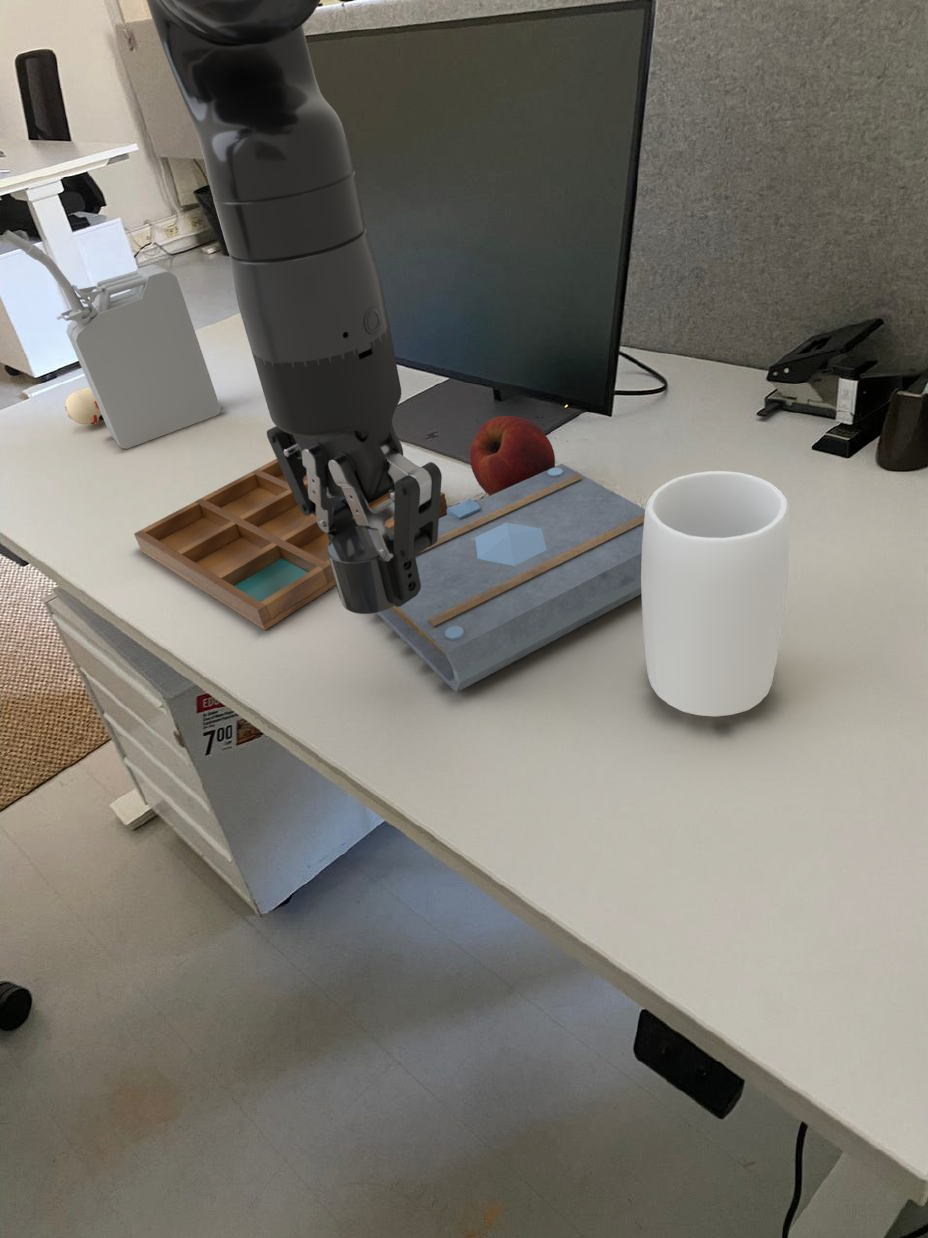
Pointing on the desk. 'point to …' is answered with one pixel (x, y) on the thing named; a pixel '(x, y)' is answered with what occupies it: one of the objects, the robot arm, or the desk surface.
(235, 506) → the board
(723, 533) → the cup
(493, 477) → the apple
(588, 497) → the book
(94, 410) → the toy figurine
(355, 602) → the dark grey cylinder
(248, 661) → the desk surface
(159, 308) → the fuel canister
